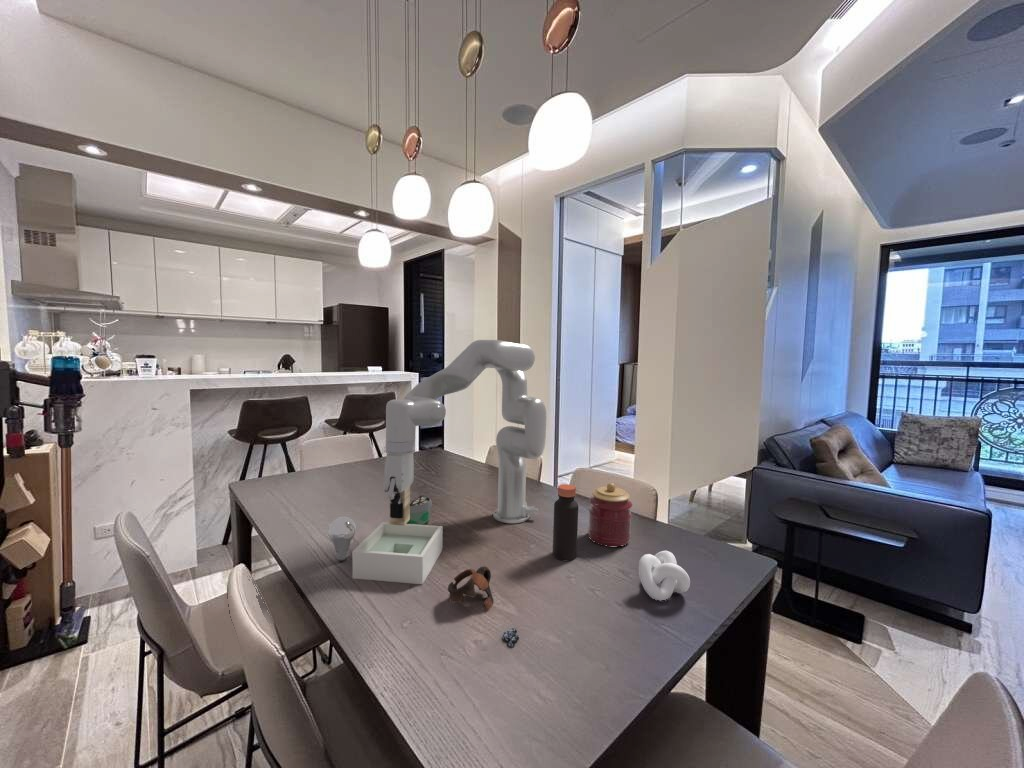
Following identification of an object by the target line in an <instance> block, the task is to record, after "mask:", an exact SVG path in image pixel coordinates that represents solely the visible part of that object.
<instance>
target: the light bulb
mask: <svg viewBox="0 0 1024 768" xmlns="http://www.w3.org/2000/svg"><path fill="white" fill-rule="evenodd" d="M356 529H357V526H356V523H355V521H354V520H353V519H352V518H350V517H348V516H339V517H336V518H335V519H334V520H332V522H331V523H329V526H328V530H327V535H328V538H329V540H330V541H331V543H332V545H333V546H334V550H335V558H336V559H337V560H338V561H339V562H345V561H346V559H348V557H349V555H350V551H349V550H350V546H351V542H352V540H353V539H354V537H355V534H356V532H357V531H356Z"/></svg>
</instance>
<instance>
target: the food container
mask: <svg viewBox="0 0 1024 768" xmlns="http://www.w3.org/2000/svg"><path fill="white" fill-rule="evenodd" d="M432 503H433V502H432V499H431V496H429V495H427V494H424V493H419V496H418V497H417V498H416V499H414V500H412V501H410V520H409V521H408V522H407V523H406V524H418V525H429V521H430V519H429V518H430V509H431V508H432V505H433V504H432Z"/></svg>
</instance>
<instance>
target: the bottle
mask: <svg viewBox="0 0 1024 768" xmlns="http://www.w3.org/2000/svg"><path fill="white" fill-rule="evenodd" d="M576 488H577V487H576V486H575V485H573V484H569V483H564V484H559V485H557V496H558V498H557V499H556V500H555V501H554V503H553V527H552V528H553V531H552V556H553V557H554V558H555V559H557V560H559V559H560V561H563V560H569V561H572V559H573V560H575V559H576V558H577V556H578V555H577V552H578V551H577V550H578V549H577V548H578V527H579V503H578V502H577V501H576V500H575V498H576V492H577V491H576V490H577V489H576ZM575 557H576V558H575Z"/></svg>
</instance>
